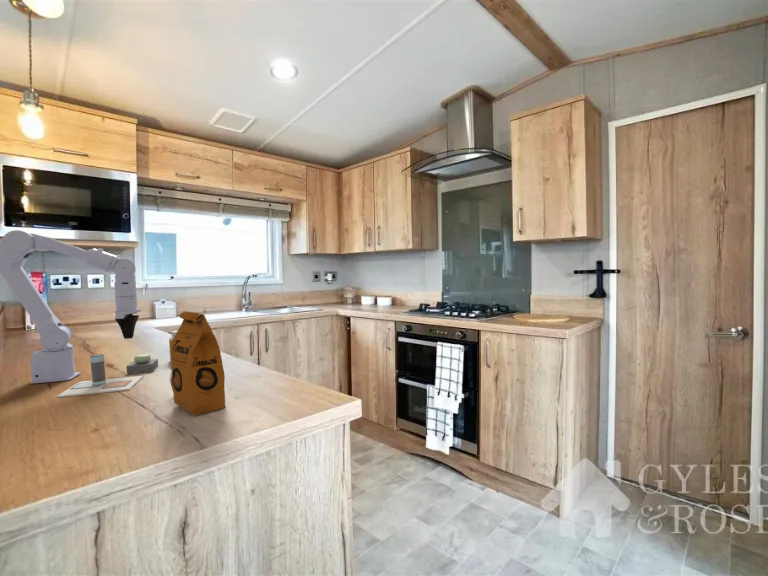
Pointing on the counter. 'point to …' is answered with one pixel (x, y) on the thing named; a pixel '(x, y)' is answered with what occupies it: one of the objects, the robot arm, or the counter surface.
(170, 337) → the supplement bottle
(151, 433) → the counter surface
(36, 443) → the counter surface
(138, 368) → the button housing
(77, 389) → the white sorting board
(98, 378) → the grey cylinder
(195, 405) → the coffee package
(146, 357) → the button
